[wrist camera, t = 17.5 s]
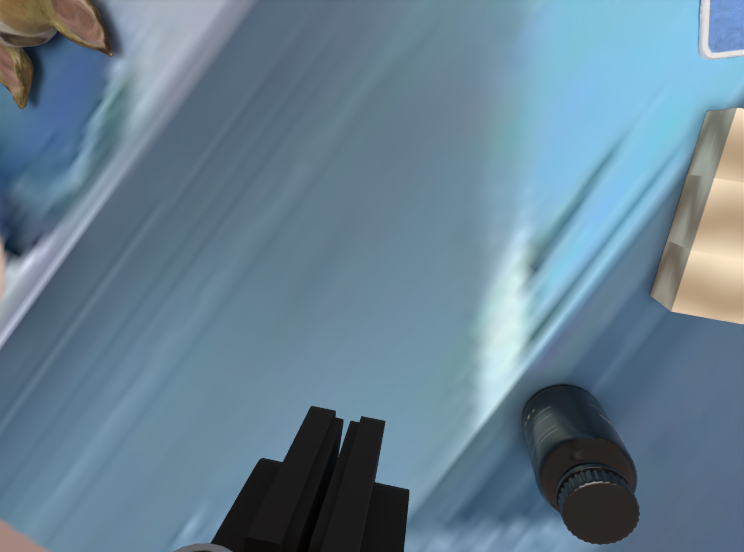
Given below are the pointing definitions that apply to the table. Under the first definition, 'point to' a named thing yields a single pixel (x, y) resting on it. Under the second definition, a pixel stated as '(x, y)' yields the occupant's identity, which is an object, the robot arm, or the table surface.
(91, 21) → the ceramic sculpture
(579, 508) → the supplement bottle
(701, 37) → the tablet computer
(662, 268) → the block
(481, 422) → the table surface
